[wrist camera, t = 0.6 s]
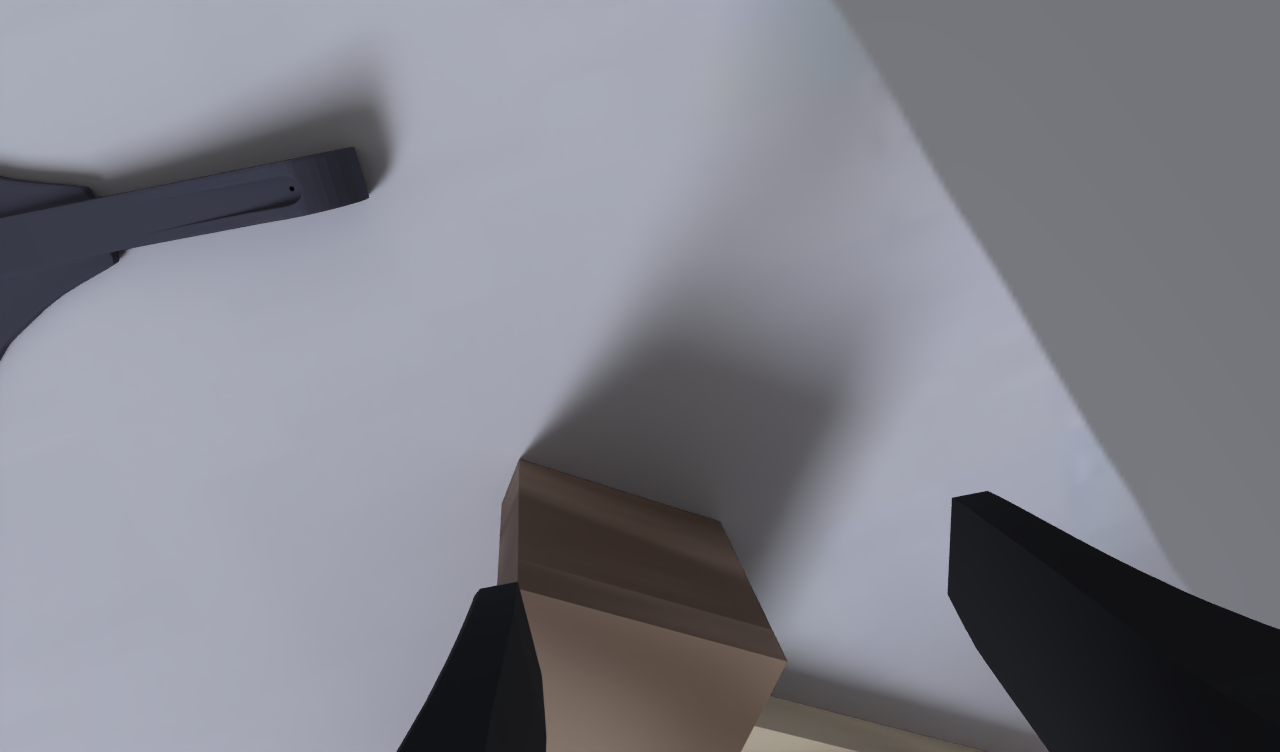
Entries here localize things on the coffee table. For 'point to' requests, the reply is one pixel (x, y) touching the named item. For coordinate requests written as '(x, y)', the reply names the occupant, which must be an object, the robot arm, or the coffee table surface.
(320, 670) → the coffee table surface
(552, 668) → the walnut shelf
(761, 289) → the coffee table surface
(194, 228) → the bracket
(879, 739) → the oak l-shaped block
